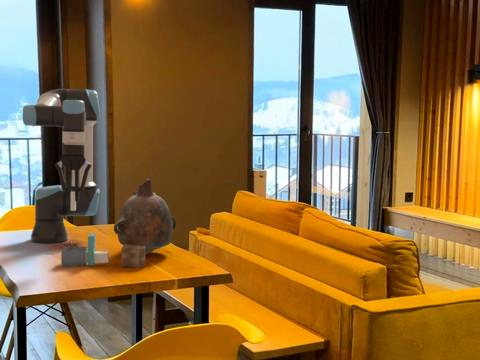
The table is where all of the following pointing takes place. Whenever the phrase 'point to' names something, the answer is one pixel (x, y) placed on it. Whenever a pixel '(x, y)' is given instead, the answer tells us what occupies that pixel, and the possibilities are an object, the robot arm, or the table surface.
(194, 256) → the table surface
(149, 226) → the jug
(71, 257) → the sleeve
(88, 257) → the bolt
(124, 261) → the socket
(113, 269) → the table surface
